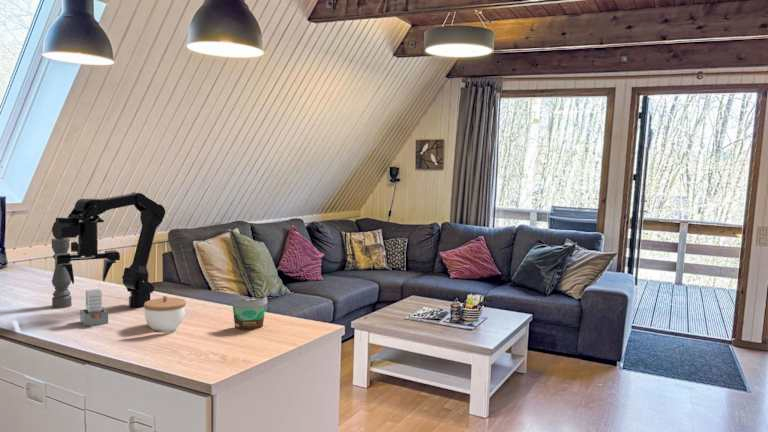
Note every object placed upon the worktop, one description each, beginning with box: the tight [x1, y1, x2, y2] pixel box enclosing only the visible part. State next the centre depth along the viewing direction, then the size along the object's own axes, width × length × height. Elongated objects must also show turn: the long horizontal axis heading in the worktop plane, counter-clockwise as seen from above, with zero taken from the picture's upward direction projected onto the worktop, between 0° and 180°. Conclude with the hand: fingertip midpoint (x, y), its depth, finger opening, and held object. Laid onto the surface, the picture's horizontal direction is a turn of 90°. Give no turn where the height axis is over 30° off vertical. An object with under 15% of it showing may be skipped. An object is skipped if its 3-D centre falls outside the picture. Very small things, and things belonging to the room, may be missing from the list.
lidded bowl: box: [143, 295, 187, 334], centre depth 179 cm, size 13×13×11 cm
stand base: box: [79, 306, 109, 327], centre depth 181 cm, size 14×14×5 cm
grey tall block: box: [85, 288, 103, 314], centre depth 181 cm, size 4×4×10 cm
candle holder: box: [51, 238, 72, 309], centre depth 203 cm, size 6×6×25 cm
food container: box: [230, 295, 268, 331], centre depth 183 cm, size 12×6×10 cm, turn 117°
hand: (88, 282), depth 186 cm, fingers open, 9 cm apart
